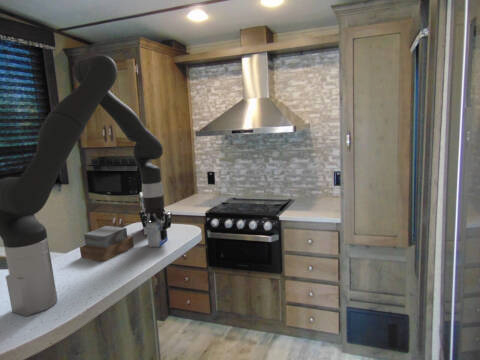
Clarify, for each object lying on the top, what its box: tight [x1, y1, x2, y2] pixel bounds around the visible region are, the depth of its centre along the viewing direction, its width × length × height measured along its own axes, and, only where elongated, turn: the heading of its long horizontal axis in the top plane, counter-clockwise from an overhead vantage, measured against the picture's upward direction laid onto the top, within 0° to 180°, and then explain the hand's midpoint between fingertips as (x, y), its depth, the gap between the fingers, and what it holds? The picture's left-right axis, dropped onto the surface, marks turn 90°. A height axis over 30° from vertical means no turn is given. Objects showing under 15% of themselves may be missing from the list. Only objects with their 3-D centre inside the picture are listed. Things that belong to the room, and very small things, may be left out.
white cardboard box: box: [139, 191, 147, 237], centre depth 143 cm, size 11×5×16 cm, turn 17°
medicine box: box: [146, 220, 168, 248], centre depth 128 cm, size 8×4×9 cm, turn 168°
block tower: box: [79, 225, 135, 262], centre depth 122 cm, size 14×11×8 cm
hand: (157, 238), depth 128 cm, fingers closed on medicine box, 5 cm apart
